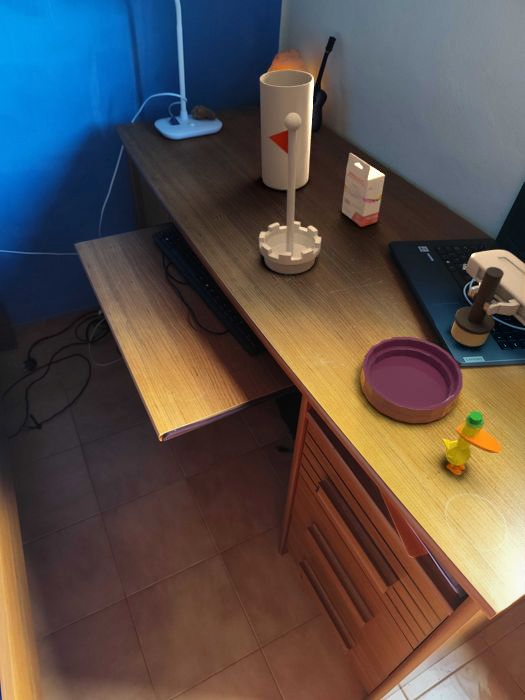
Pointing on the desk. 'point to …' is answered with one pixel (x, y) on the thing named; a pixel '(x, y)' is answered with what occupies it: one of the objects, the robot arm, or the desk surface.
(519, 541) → the desk surface
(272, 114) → the cylinder vase
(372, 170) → the ink cartridge box
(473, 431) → the toy figure
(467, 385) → the desk surface
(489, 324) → the dish brush
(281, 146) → the flag stand
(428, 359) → the plum bowl
